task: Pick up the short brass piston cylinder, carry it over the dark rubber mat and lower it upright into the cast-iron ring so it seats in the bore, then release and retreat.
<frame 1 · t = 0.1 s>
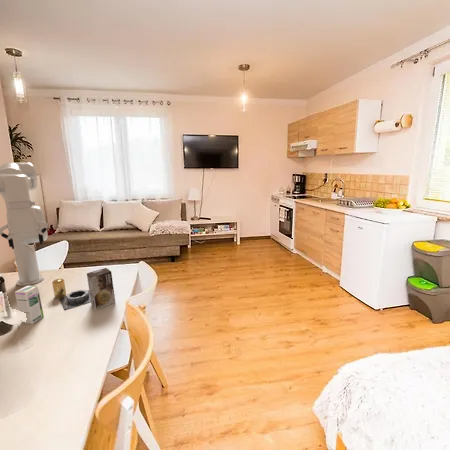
hand: (27, 245, 114), 31 cm above the table, fingers open, 9 cm apart
piston: (60, 296, 136), on the table
ring fixture: (78, 299, 132), on the table
coffee box: (103, 304, 127), on the table
syrup box: (32, 320, 115), on the table
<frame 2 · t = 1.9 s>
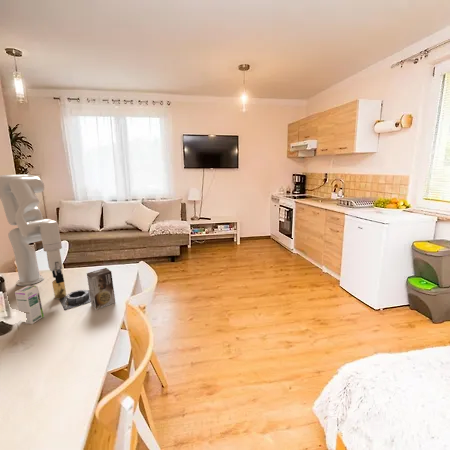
hand: (58, 279, 133), 9 cm above the table, fingers open, 9 cm apart
nothing on the table moved.
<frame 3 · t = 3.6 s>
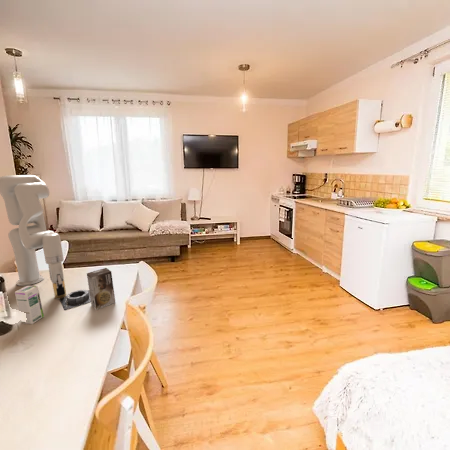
hand: (60, 292, 135), 2 cm above the table, fingers closed on piston, 5 cm apart
piston: (60, 296, 136), on the table, touching gripper
everything else where it was.
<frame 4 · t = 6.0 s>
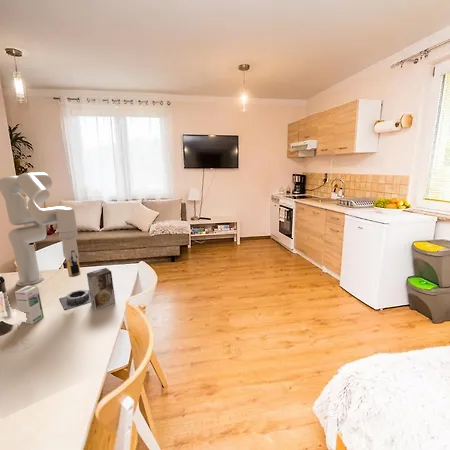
hand: (74, 271, 129), 15 cm above the table, fingers closed on piston, 5 cm apart
piston: (74, 274, 129), point 13 cm above the table, touching gripper
everything else where it was.
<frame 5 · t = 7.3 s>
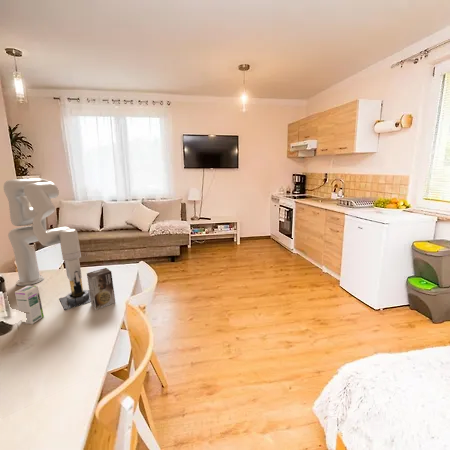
hand: (77, 290, 131), 5 cm above the table, fingers closed on piston, 5 cm apart
piston: (77, 294, 131), point 3 cm above the table, touching gripper
everything else where it was.
when the fingers open (3 cm above the table, at t = 8.3 s): piston drops 1 cm, resting on ring fixture.
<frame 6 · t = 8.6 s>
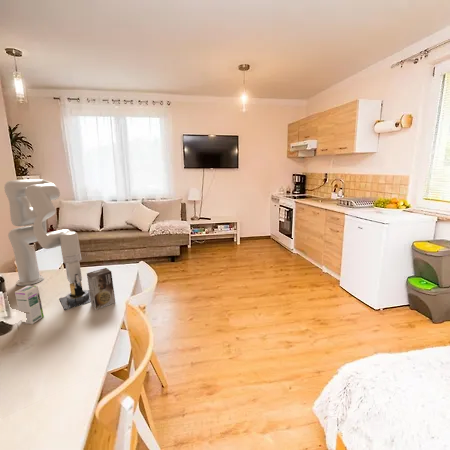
hand: (77, 291, 131), 4 cm above the table, fingers open, 8 cm apart
piston: (78, 298, 132), resting on ring fixture
everything else where it was.
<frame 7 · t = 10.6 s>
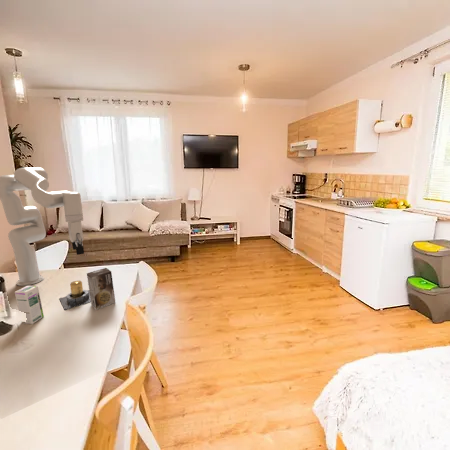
hand: (78, 251, 134), 22 cm above the table, fingers open, 9 cm apart
nothing on the table moved.
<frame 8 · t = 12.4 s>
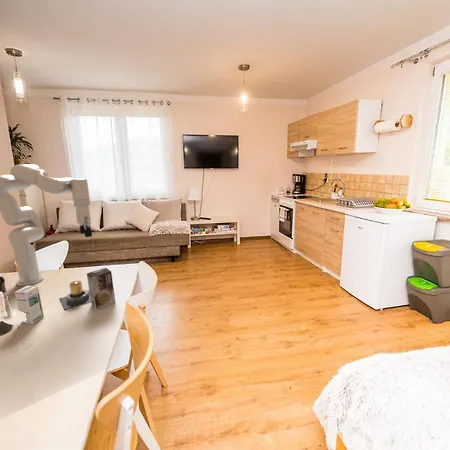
hand: (86, 235, 142), 28 cm above the table, fingers open, 9 cm apart
nothing on the table moved.
at the end: piston 0.2 cm off-centre on the ring fixture, point 0.4 cm above the ring fixture's base; piston tilted 2°; the gripper is holding nothing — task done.
